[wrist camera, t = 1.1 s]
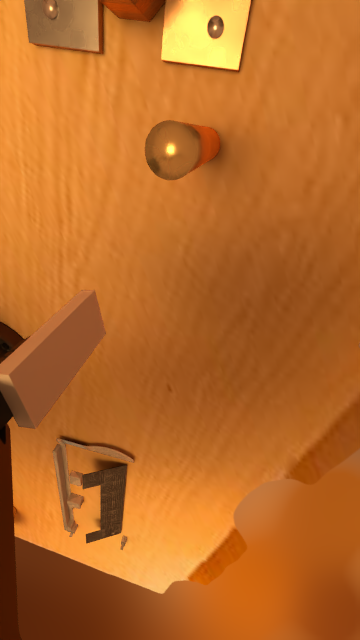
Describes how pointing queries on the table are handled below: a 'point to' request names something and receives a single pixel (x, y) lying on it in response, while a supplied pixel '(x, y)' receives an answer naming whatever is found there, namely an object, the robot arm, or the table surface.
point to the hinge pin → (179, 148)
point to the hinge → (142, 4)
